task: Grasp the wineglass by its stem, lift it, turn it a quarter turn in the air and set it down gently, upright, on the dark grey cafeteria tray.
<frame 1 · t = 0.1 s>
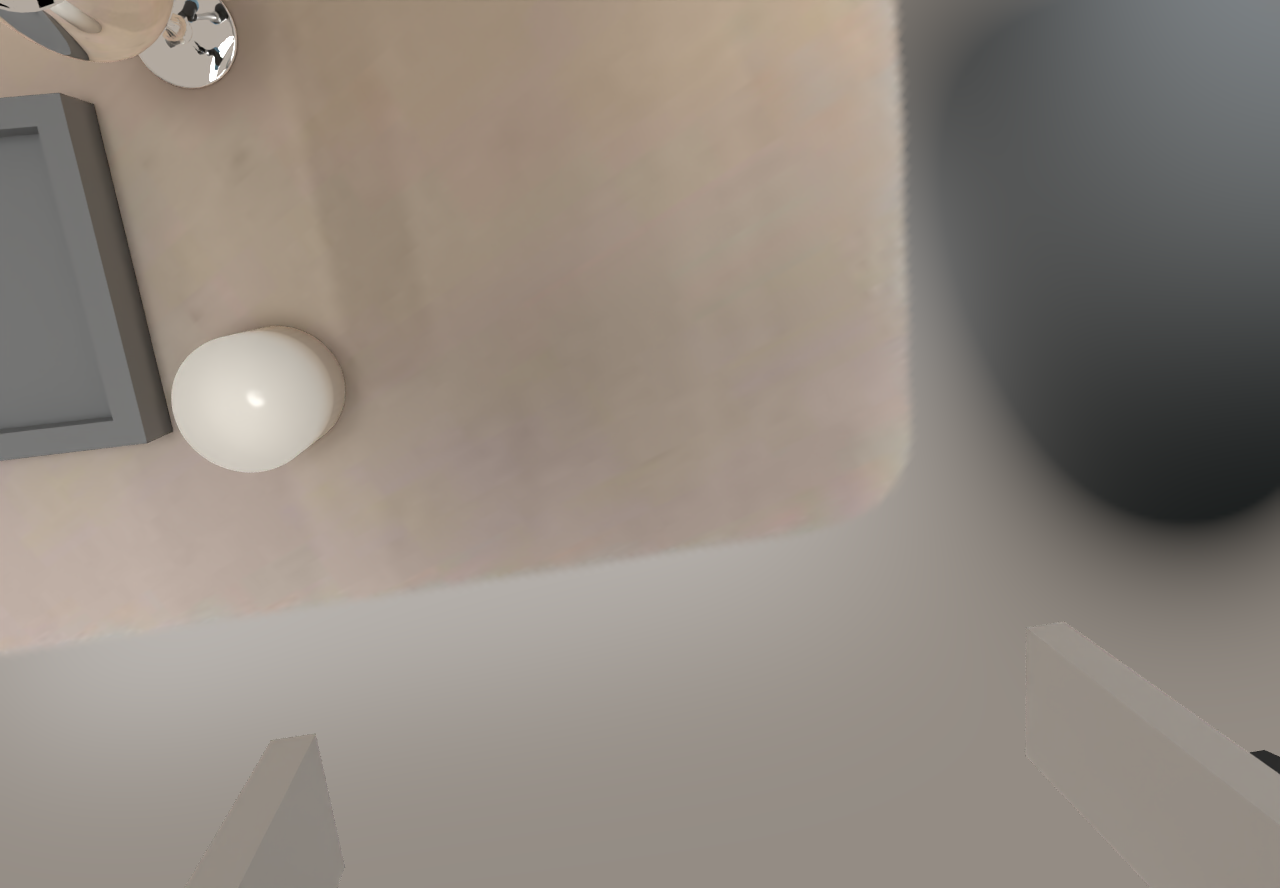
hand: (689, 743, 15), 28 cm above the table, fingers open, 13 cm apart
wineglass: (186, 36, 36), on the table
white pillar candle: (282, 387, 40), on the table
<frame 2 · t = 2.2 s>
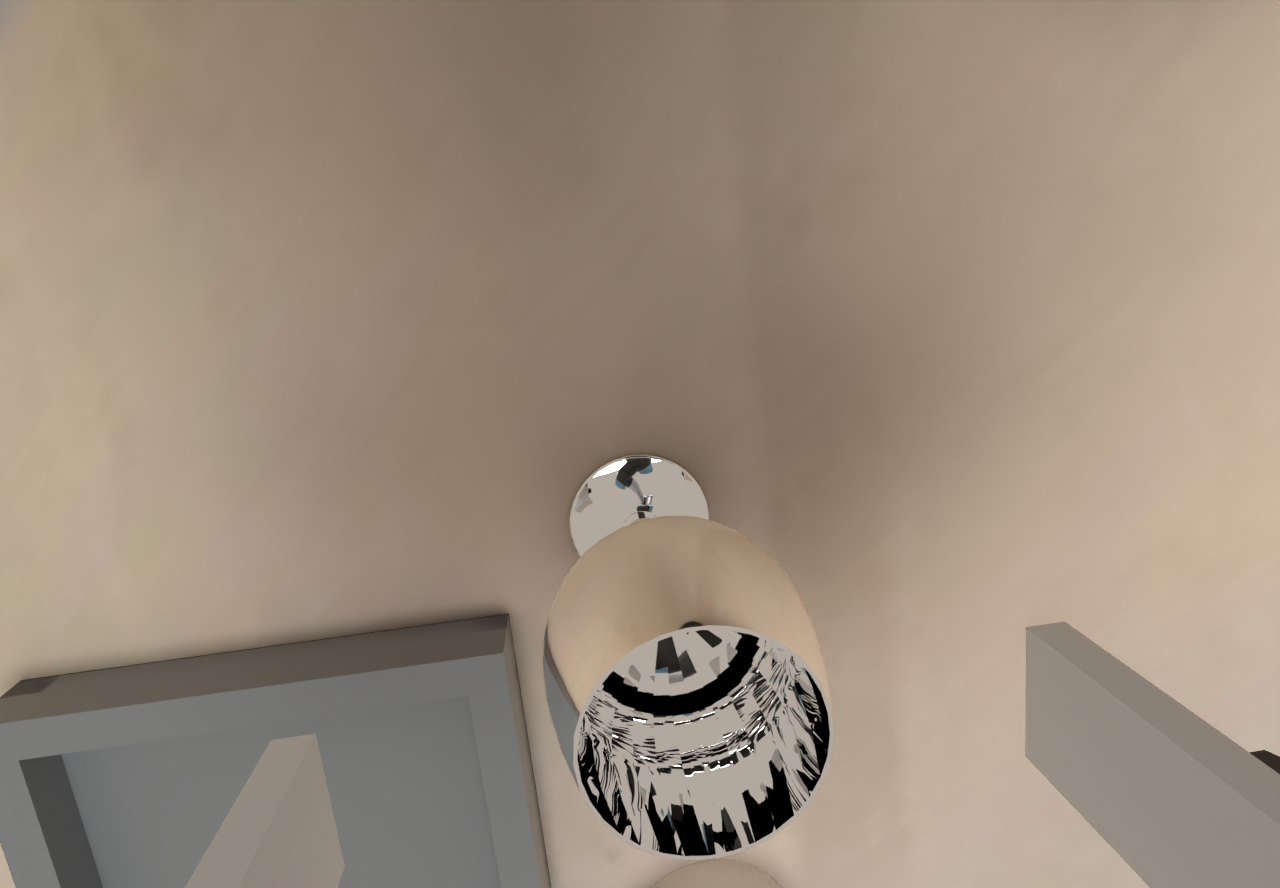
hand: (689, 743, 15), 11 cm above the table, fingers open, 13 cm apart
wineglass: (639, 520, 26), on the table
tray: (317, 848, 27), on the table
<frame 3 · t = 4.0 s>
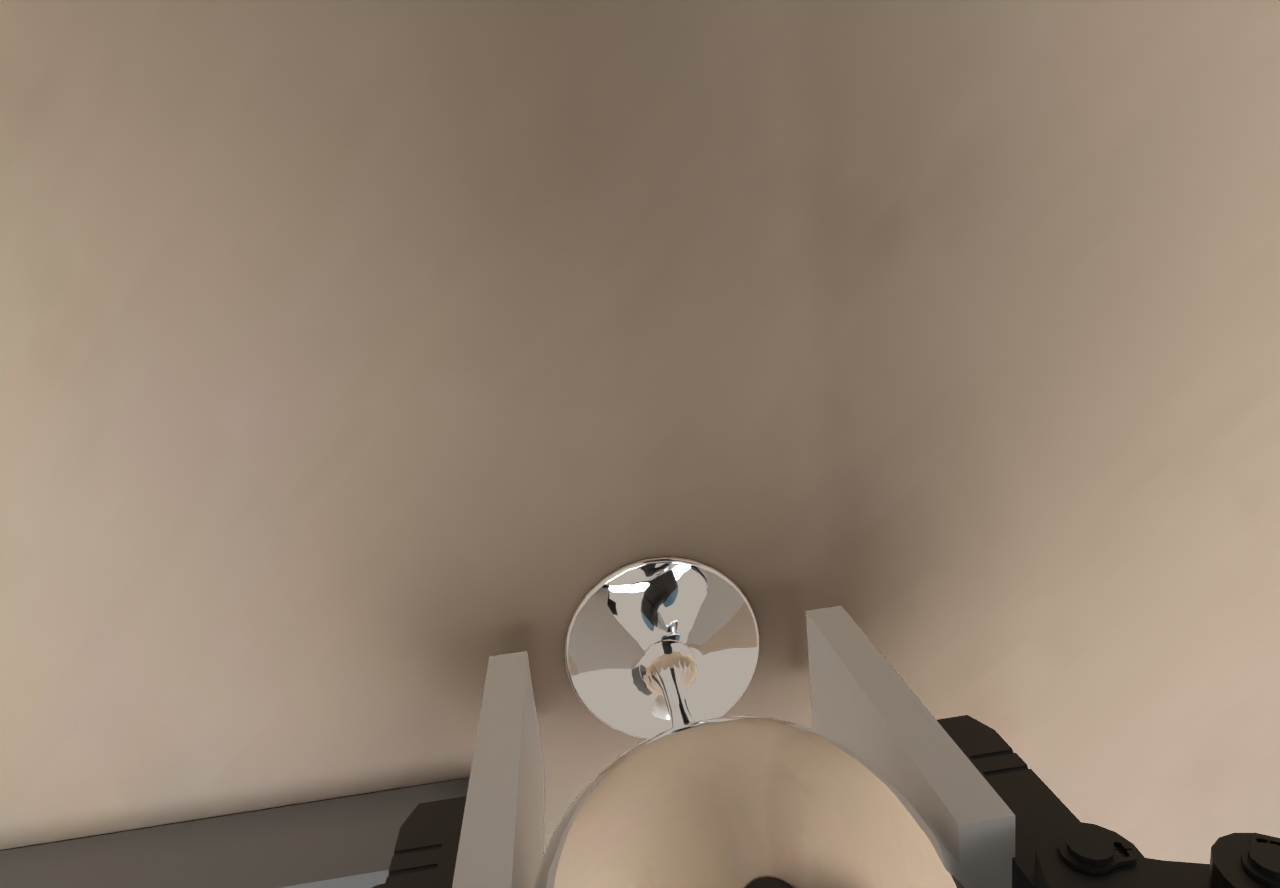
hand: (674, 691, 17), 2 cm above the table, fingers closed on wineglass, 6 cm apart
wineglass: (661, 645, 19), on the table, touching gripper
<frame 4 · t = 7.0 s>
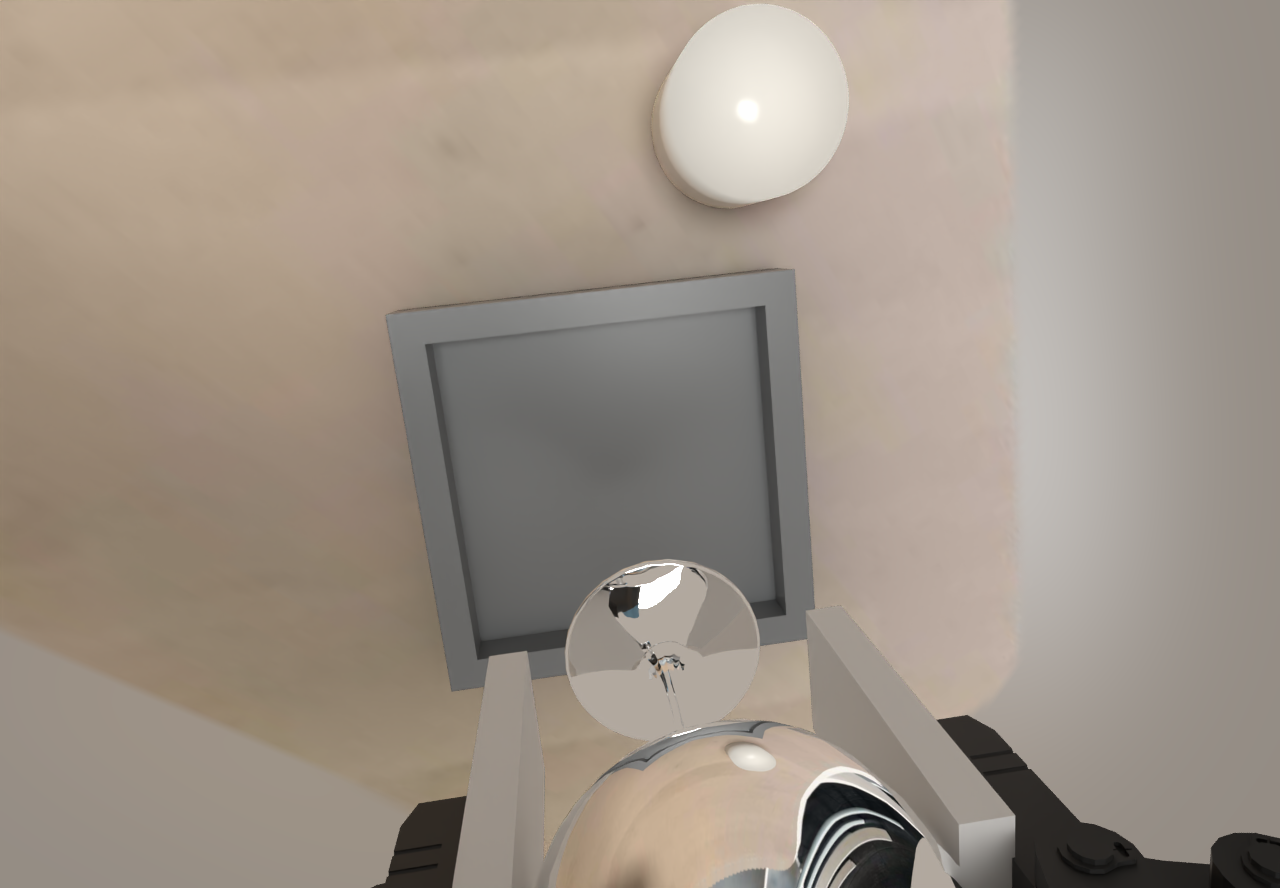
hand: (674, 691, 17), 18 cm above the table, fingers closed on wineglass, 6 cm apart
wineglass: (662, 647, 19), point 16 cm above the table, touching gripper
white pillar candle: (728, 127, 32), on the table
tray: (612, 471, 34), on the table
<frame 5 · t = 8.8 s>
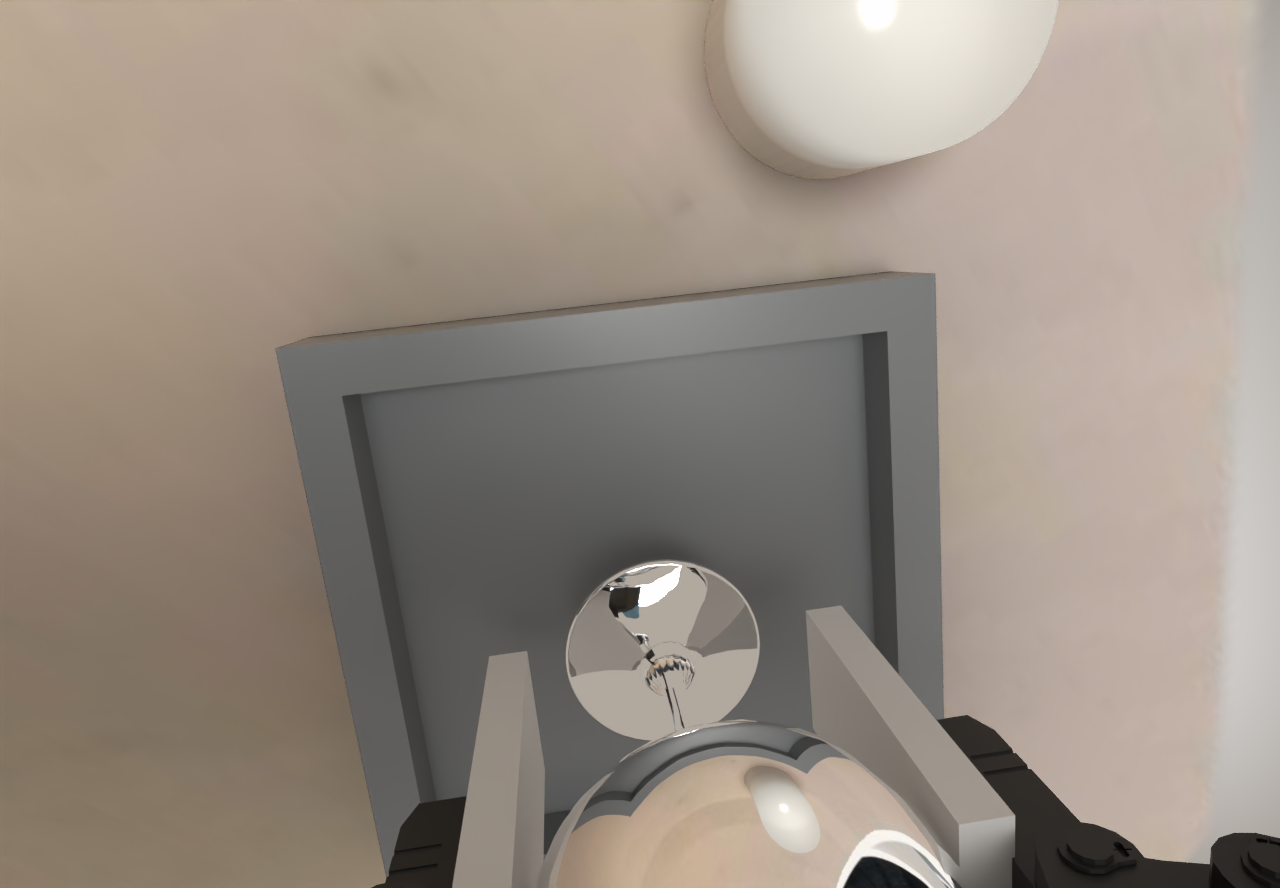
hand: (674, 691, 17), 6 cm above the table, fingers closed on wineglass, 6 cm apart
wineglass: (662, 647, 19), point 4 cm above the table, touching gripper
white pillar candle: (823, 52, 20), on the table
tray: (638, 575, 23), on the table
when the fingers open (4 cm above the table, at t = 10.1 s): wineglass stays where it is, resting on tray.
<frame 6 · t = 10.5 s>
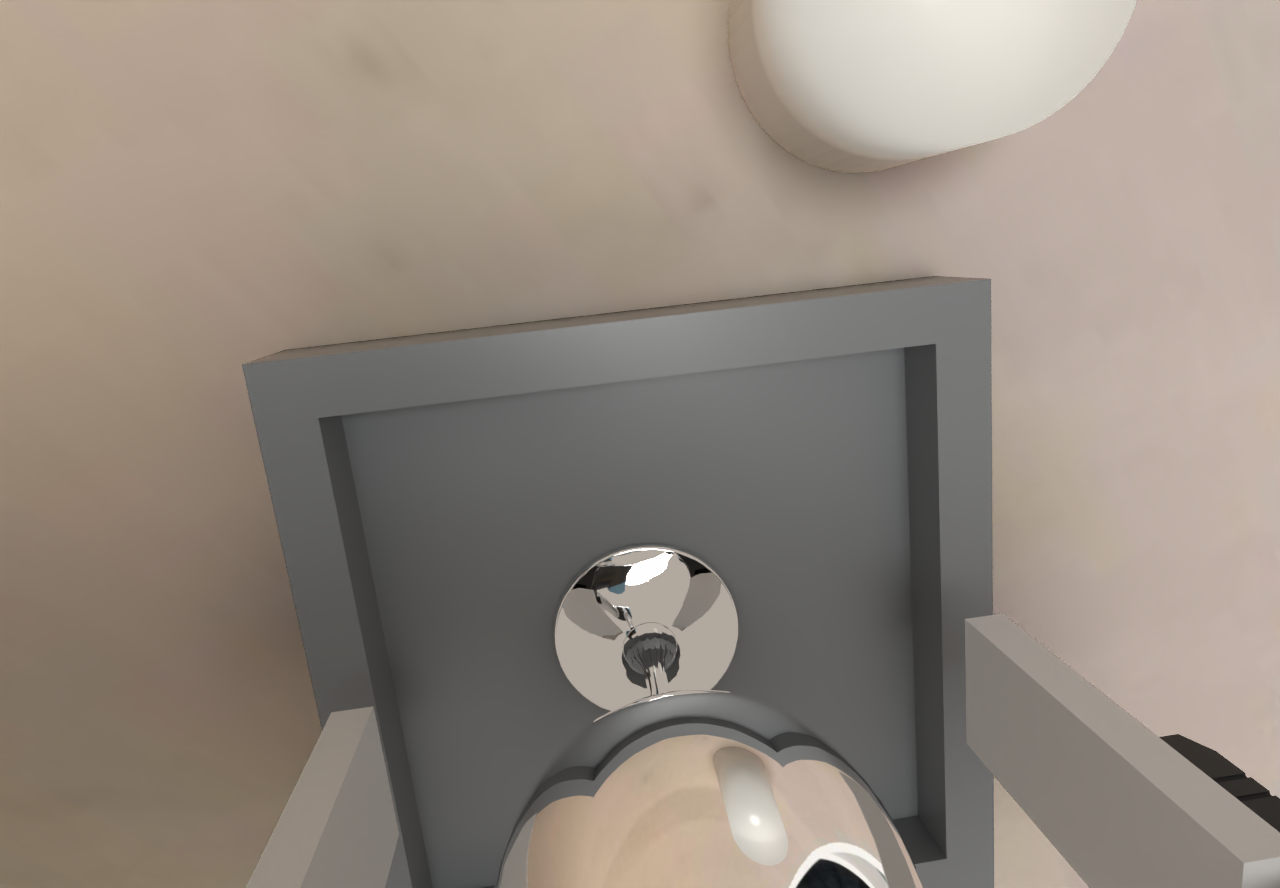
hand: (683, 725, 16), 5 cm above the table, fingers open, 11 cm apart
wineglass: (646, 628, 20), point 1 cm above the table, touching tray
white pillar candle: (861, 30, 18), on the table
tray: (652, 612, 20), on the table
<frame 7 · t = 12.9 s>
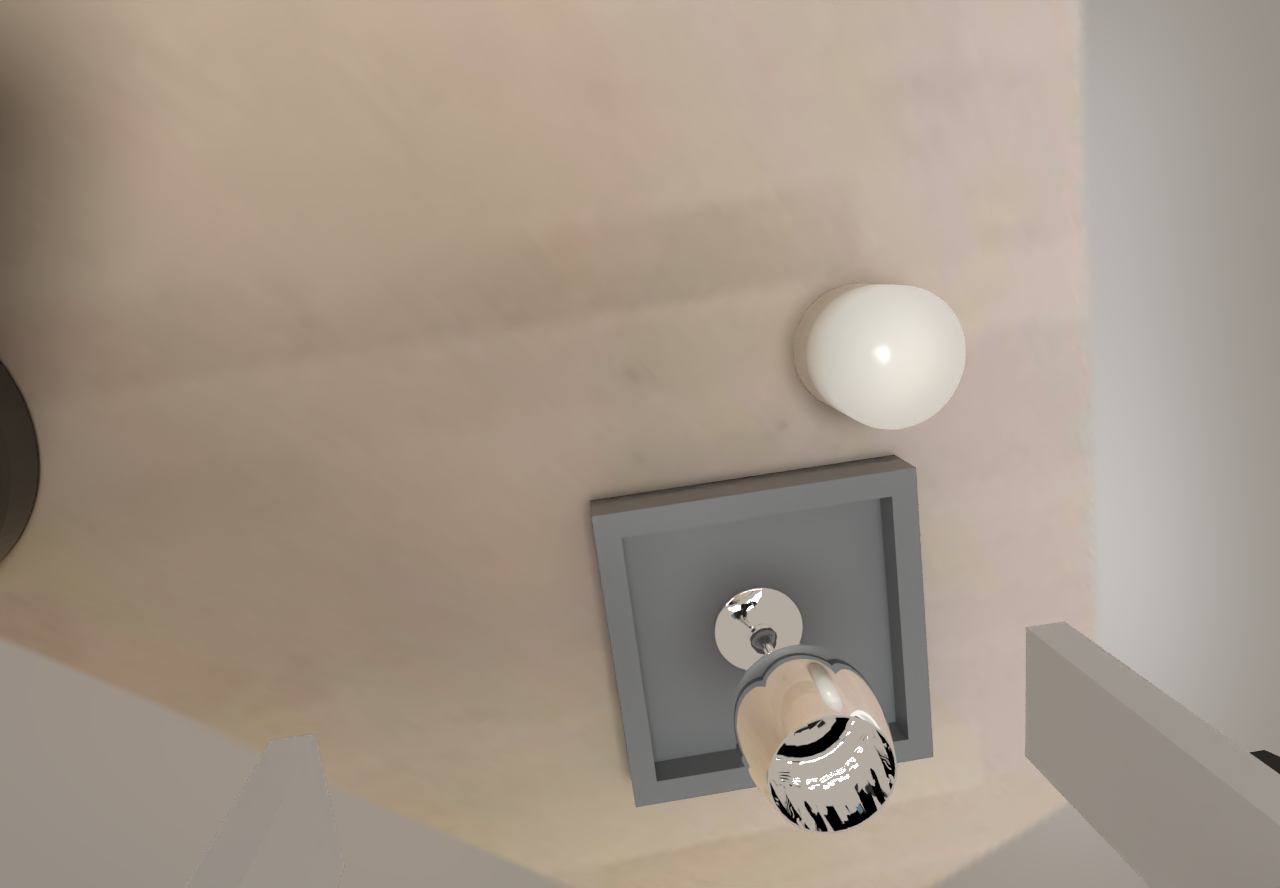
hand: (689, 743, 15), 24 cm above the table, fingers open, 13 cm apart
wineglass: (757, 627, 40), point 1 cm above the table, touching tray
white pillar candle: (855, 347, 39), on the table
tray: (759, 619, 41), on the table
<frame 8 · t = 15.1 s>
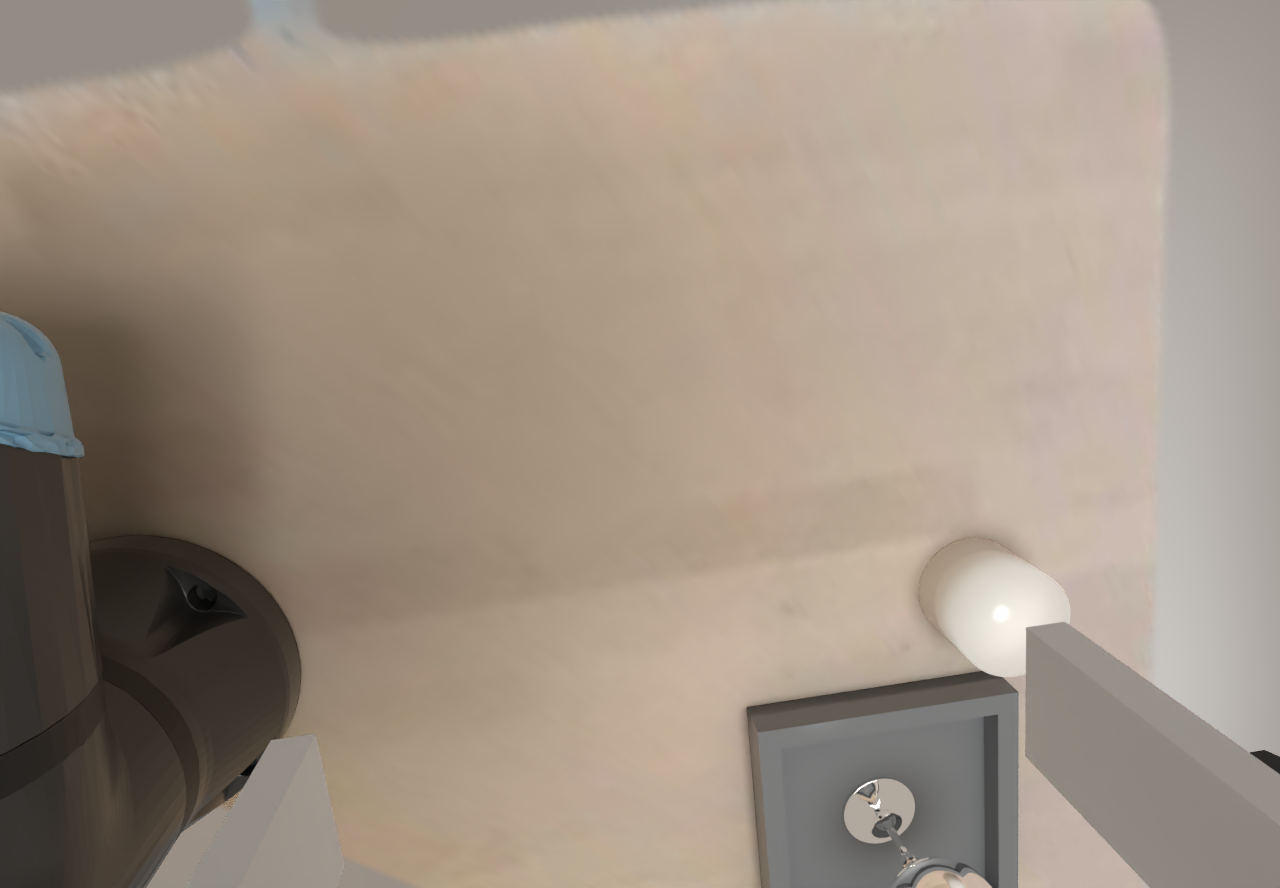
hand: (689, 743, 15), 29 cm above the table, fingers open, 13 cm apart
wineglass: (877, 808, 49), point 1 cm above the table, touching tray
white pillar candle: (968, 586, 47), on the table
tray: (876, 799, 50), on the table
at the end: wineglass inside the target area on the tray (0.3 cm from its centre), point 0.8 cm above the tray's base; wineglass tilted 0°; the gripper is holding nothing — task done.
